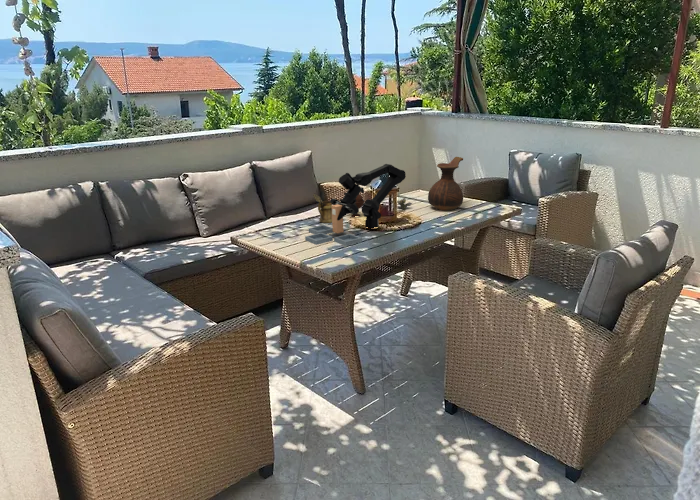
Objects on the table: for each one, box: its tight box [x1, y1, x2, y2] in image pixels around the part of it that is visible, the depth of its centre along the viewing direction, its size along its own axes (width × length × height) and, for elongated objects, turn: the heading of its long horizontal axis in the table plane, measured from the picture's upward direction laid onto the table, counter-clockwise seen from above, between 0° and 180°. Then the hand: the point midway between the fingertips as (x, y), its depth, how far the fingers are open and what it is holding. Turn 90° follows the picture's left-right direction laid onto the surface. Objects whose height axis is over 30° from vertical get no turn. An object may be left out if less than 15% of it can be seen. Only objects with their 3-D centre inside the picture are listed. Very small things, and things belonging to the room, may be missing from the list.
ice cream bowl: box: [350, 193, 365, 218], centre depth 326 cm, size 11×11×15 cm
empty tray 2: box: [333, 233, 363, 247], centre depth 278 cm, size 10×10×2 cm
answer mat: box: [328, 232, 347, 240], centre depth 289 cm, size 9×9×1 cm
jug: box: [427, 156, 464, 212], centre depth 335 cm, size 22×22×30 cm
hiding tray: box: [304, 233, 334, 246], centre depth 282 cm, size 10×10×2 cm
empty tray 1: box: [307, 224, 335, 235], centre depth 296 cm, size 10×10×2 cm
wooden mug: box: [312, 192, 333, 224], centre depth 315 cm, size 9×14×18 cm, turn 134°
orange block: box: [331, 204, 344, 234], centre depth 286 cm, size 4×4×14 cm
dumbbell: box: [396, 197, 413, 212], centre depth 336 cm, size 9×22×10 cm, turn 139°
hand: (335, 219), depth 285 cm, fingers closed on orange block, 4 cm apart
